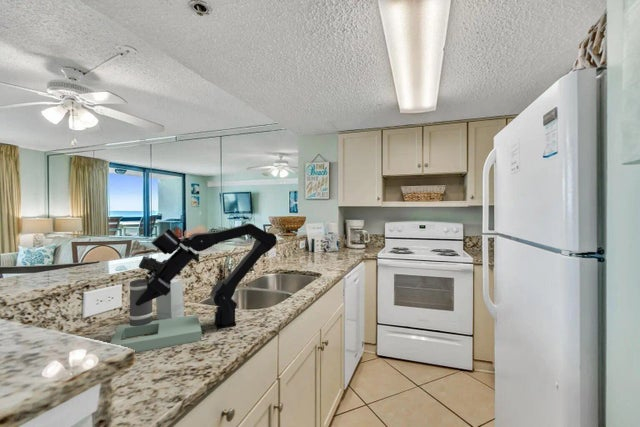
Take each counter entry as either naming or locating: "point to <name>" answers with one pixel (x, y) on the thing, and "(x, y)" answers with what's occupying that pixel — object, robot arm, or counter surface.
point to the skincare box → (171, 302)
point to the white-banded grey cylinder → (142, 312)
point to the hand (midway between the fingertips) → (136, 302)
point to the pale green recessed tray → (159, 333)
